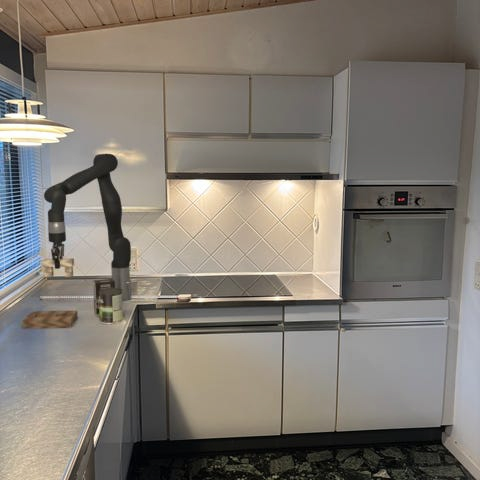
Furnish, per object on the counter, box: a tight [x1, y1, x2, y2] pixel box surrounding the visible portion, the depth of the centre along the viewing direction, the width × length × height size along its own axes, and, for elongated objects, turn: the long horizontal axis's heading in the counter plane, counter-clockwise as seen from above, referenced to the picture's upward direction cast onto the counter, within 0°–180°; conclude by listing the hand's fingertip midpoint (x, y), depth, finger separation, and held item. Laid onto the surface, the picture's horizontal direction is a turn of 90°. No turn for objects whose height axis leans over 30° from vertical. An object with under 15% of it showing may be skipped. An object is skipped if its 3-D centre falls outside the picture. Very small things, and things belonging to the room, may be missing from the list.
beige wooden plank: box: [42, 258, 75, 278], centre depth 225 cm, size 13×4×8 cm, turn 95°
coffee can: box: [99, 288, 124, 325], centre depth 217 cm, size 10×10×14 cm
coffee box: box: [92, 278, 115, 317], centre depth 227 cm, size 9×6×16 cm
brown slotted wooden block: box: [22, 310, 79, 330], centre depth 213 cm, size 20×12×4 cm, turn 95°
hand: (58, 267), depth 225 cm, fingers closed on beige wooden plank, 4 cm apart
